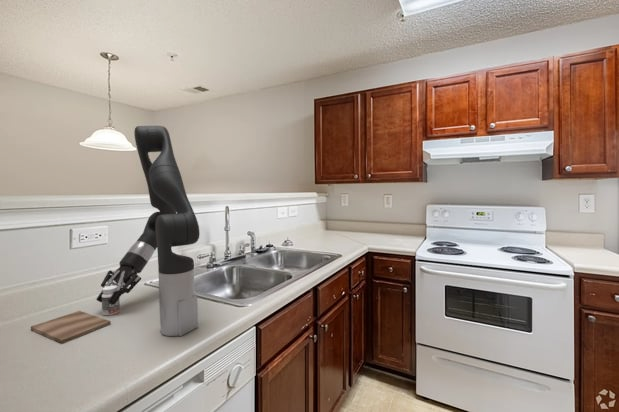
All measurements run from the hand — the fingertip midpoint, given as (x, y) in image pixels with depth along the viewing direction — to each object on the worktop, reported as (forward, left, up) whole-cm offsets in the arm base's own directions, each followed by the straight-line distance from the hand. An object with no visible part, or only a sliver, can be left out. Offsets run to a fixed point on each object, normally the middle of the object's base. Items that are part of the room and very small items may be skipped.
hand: (104, 302), depth 92 cm
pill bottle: (0, -2, -4) cm, 5 cm away
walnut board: (0, +9, -4) cm, 10 cm away
